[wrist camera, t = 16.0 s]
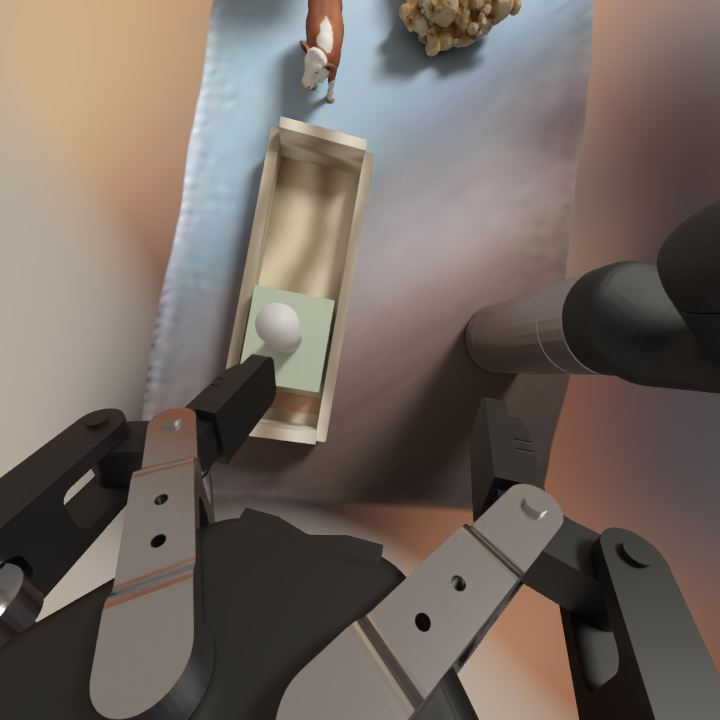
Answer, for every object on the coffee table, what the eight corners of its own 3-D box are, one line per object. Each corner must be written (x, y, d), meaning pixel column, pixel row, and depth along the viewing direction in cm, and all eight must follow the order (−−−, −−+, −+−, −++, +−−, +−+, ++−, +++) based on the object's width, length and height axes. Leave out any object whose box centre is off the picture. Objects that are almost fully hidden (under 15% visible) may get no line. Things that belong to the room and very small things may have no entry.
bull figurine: (297, 122, 42) (295, 64, 34) (311, 21, 43) (312, -60, 35) (331, 130, 43) (337, 75, 35) (344, 30, 43) (353, -47, 35)
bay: (368, 173, 43) (377, 143, 37) (323, 435, 42) (326, 446, 36) (274, 149, 42) (269, 112, 36) (224, 421, 40) (209, 430, 34)
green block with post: (331, 308, 41) (348, 266, 24) (317, 389, 40) (325, 405, 24) (261, 294, 40) (227, 240, 23) (245, 378, 39) (199, 386, 22)
